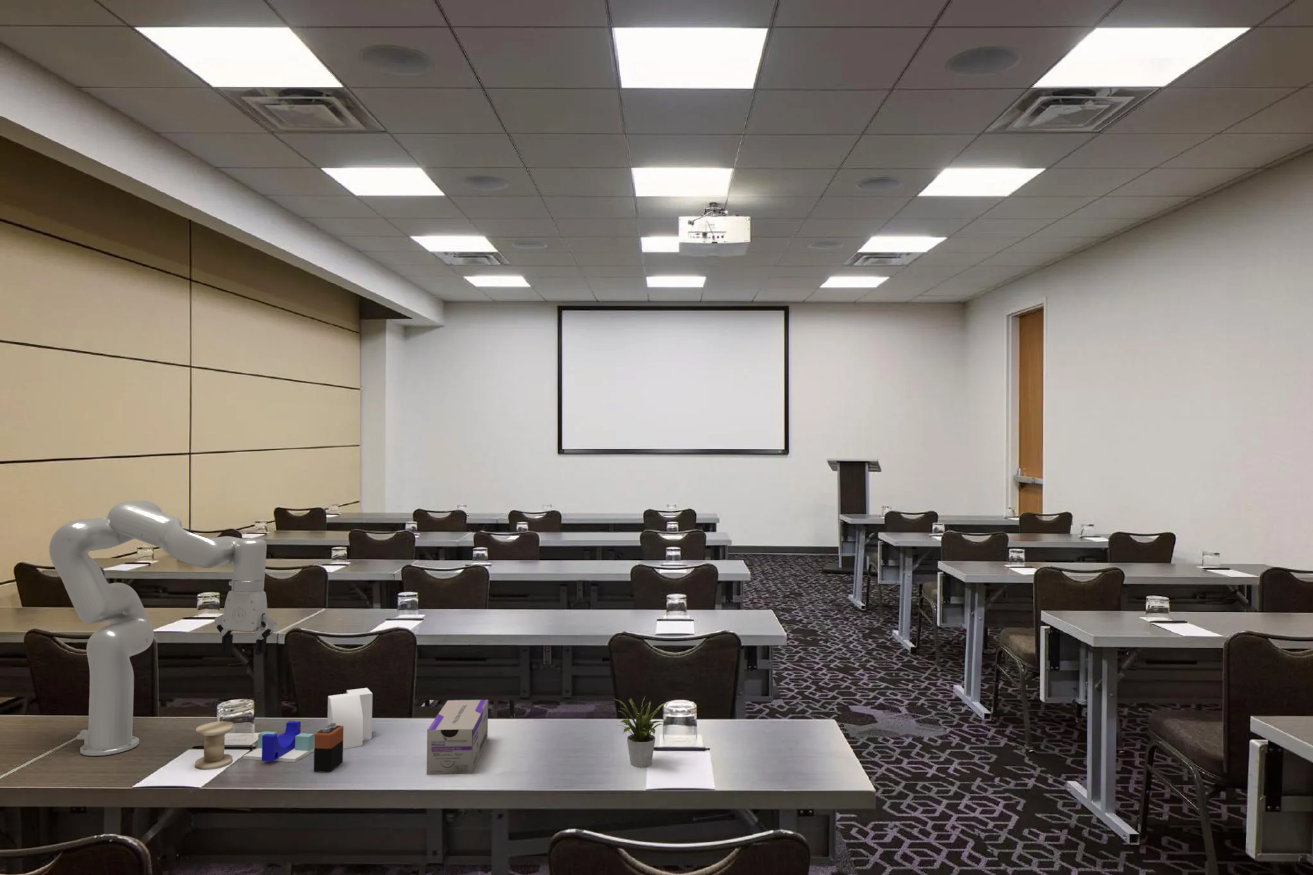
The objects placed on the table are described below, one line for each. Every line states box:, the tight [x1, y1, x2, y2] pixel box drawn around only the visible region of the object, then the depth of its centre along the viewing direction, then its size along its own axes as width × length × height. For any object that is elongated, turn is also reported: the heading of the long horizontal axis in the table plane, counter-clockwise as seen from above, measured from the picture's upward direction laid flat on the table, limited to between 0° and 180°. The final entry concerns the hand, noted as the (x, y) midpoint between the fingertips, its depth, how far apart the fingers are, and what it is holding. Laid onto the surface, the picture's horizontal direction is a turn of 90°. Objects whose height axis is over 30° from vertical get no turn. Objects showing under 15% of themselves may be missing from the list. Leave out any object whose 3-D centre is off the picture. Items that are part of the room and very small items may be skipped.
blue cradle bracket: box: [261, 720, 302, 762], centre depth 204 cm, size 12×4×6 cm, turn 174°
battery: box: [313, 723, 344, 773], centre depth 196 cm, size 4×7×10 cm, turn 176°
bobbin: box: [194, 721, 234, 771], centre depth 198 cm, size 8×8×9 cm
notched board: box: [242, 730, 315, 763], centre depth 205 cm, size 14×10×4 cm
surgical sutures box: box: [426, 699, 489, 776], centre depth 204 cm, size 25×11×11 cm, turn 4°
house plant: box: [614, 695, 668, 768], centre depth 199 cm, size 14×14×16 cm
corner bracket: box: [326, 687, 373, 750], centre depth 215 cm, size 11×11×12 cm
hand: (243, 652), depth 211 cm, fingers open, 9 cm apart
